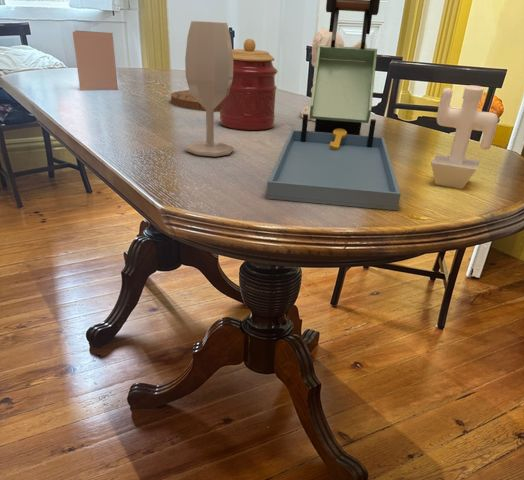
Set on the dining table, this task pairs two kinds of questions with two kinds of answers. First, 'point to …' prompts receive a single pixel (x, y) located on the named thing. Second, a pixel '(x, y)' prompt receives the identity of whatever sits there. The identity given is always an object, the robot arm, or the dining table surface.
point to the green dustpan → (344, 75)
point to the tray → (335, 172)
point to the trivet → (188, 101)
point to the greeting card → (95, 60)
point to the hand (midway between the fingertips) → (349, 32)
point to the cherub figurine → (321, 39)
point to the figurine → (462, 136)
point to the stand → (331, 125)
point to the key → (337, 138)
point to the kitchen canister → (250, 90)
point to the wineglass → (209, 77)
